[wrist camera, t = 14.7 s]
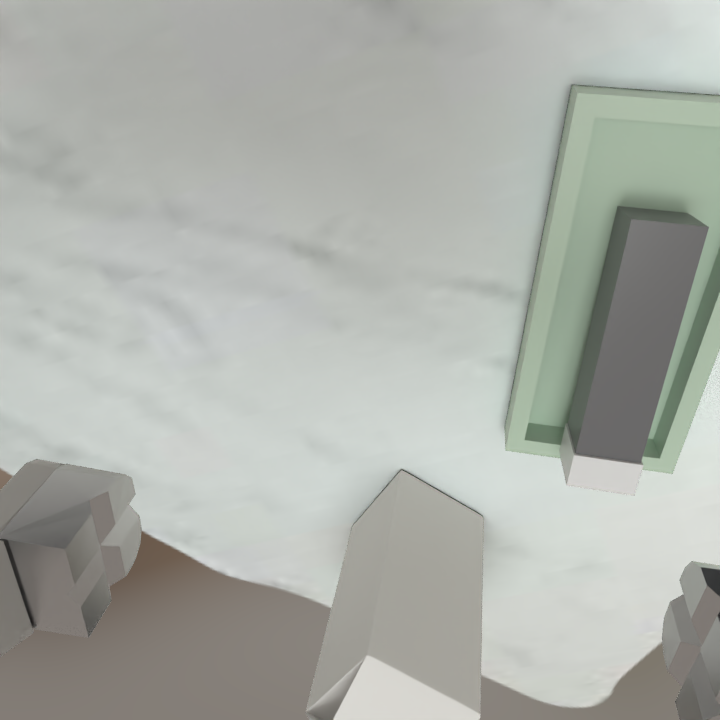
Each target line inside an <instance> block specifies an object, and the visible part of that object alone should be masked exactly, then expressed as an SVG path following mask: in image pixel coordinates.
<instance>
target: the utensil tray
mask: <svg viewBox="0 0 720 720" xmlns="http://www.w3.org/2000/svg"><path fill="white" fill-rule="evenodd" d="M617 206H624V207H634V208H644V209H654V210H663V211H673V212H683V213H688V214H690V215H691V216H693V217H695V218H696V219H698V220H699V221H701V222H702V223H704V224H705V225H707V226H708V227H709V229H708V233H707V236H706V239H705V243H704V246H703V250H702V253H701V257H700V260H699V264H698V267H697V271H696V274H695V277H694V281H693V284H692V288H691V291H690V295H689V298H688V302H687V305H686V309H685V312H684V315H683V319H682V322H681V326H680V329H679V333H678V336H677V340H676V343H675V347H674V350H673V354H672V357H671V360H670V364H669V367H668V371H667V374H666V378H665V381H664V385H663V388H662V392H661V395H660V398H659V402H658V405H657V409H656V412H655V416H654V419H653V423H652V426H651V430H650V433H649V437H648V440H647V443H646V447H645V450H644V454H643V457H642V463H643V469H642V470H648V471H655V472H663V473H670V474H673V471H674V468H675V466H676V463H677V460H678V458H679V455H680V452H681V450H682V447H683V445H684V442H685V439H686V437H687V434H688V431H689V429H690V426H691V423H692V421H693V418H694V415H695V413H696V410H697V407H698V405H699V402H700V400H701V397H702V394H703V392H704V389H705V386H706V384H707V381H708V378H709V376H710V373H711V370H712V368H713V365H714V362H715V360H716V357H717V354H718V352H719V349H720V95H710V94H696V93H682V92H668V91H654V90H640V89H626V88H612V87H598V86H584V85H572V86H571V92H570V97H569V102H568V107H567V112H566V117H565V122H564V127H563V132H562V137H561V143H560V148H559V153H558V158H557V163H556V168H555V173H554V178H553V183H552V189H551V194H550V199H549V204H548V209H547V214H546V219H545V224H544V229H543V234H542V240H541V245H540V250H539V255H538V260H537V265H536V270H535V275H534V280H533V285H532V291H531V296H530V301H529V306H528V311H527V316H526V321H525V326H524V331H523V337H522V342H521V347H520V352H519V357H518V362H517V367H516V372H515V377H514V382H513V388H512V393H511V398H510V403H509V408H508V413H507V418H506V423H505V451H512V452H519V453H526V454H533V455H541V456H548V457H555V458H561V457H560V452H559V451H560V447H561V442H562V438H563V434H564V429H565V425H566V423H568V419H569V415H570V411H571V406H572V402H573V398H574V393H575V389H576V385H577V380H578V376H579V371H580V367H581V363H582V358H583V354H584V350H585V345H586V341H587V337H588V332H589V328H590V324H591V319H592V315H593V310H594V306H595V302H596V297H597V293H598V289H599V284H600V280H601V276H602V271H603V267H604V263H605V258H606V254H607V250H608V245H609V241H610V236H611V232H612V228H613V223H614V219H615V215H616V210H617Z"/></svg>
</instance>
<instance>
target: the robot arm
mask: <svg viewBox="0 0 720 720" xmlns="http://www.w3.org/2000/svg"><path fill="white" fill-rule="evenodd" d="M134 496H135V489H134V485H133V481H132V478H131V477H129V476H127V475H125V474H121V473H115V472H110V471H104V470H98V469H93V468H87V467H82V466H76V465H71V464H61V463H56V462H50V461H45V460H40V459H35V460H33V461H30V462H28V463H26V464H25V465H24V466H23V467H22V468H21V469H20V470H19V471H18V472H17V473H16V474H15V475H14V476H13V477H12V478H11V480H10V481H9V482H8V483H7V484H6V485H5V486H4V487H3V488H2V489H1V490H0V657H1V656H2V655H4V654H5V653H6V652H8V651H9V650H10V649H12V648H13V647H14V646H16V645H17V644H18V643H20V642H21V641H23V640H24V639H25V638H27V637H28V636H30V635H31V634H32V633H33V632H34V631H33V629H36V630H43V631H49V632H55V633H61V634H68V635H74V636H81V637H87V638H89V637H90V635H91V633H92V632H93V630H94V628H95V627H96V625H97V623H98V622H99V620H100V618H101V617H102V615H103V613H104V612H105V610H106V609H107V606H108V605H109V604H110V602H111V595H110V589H109V586H111V585H112V584H114V583H116V582H117V581H119V580H121V579H122V578H124V577H126V575H127V574H128V572H129V570H130V568H131V567H132V565H133V563H134V561H135V558H136V555H137V552H138V549H139V546H140V542H141V522H140V516H139V515H138V514H137V513H136V511H135V510H134V509H133V508H132V507H131V506H130V505H129V503H130V502H131V500H132V499H133V497H134ZM680 584H681V587H682V590H683V595H681V596H680V597H678V598H676V599H674V600H672V601H671V602H670V603H669V606H668V609H667V611H666V614H665V617H664V623H663V633H662V643H663V653H664V658H665V662H666V667H667V671H668V672H669V673H670V674H671V675H672V676H673V677H674V679H675V680H676V681H677V682H678V683H679V684H680V685H681V686H682V688H681V690H680V692H679V694H678V697H677V699H676V701H675V703H676V707H677V711H678V715H679V719H680V720H720V565H714V564H708V563H701V562H694V561H692V562H690V563H689V564H688V565H687V566H686V567H685V569H684V571H683V573H682V575H681V578H680Z"/></svg>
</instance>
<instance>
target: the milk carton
mask: <svg viewBox="0 0 720 720" xmlns="http://www.w3.org/2000/svg"><path fill="white" fill-rule="evenodd" d="M482 582H483V517H482V516H481V515H479V514H478V513H476V512H474V511H473V510H471V509H469V508H467V507H466V506H464V505H462V504H460V503H459V502H457V501H455V500H454V499H452V498H450V497H448V496H447V495H445V494H443V493H441V492H440V491H438V490H436V489H434V488H433V487H431V486H429V485H428V484H426V483H424V482H422V481H421V480H419V479H417V478H415V477H414V476H412V475H410V474H408V473H407V472H405V471H400V472H399V473H398V474H397V475H396V476H395V478H394V479H393V480H392V481H391V482H390V483H389V485H388V486H387V487H386V488H385V489H384V490H383V492H382V493H381V494H380V495H379V496H378V497H377V498H376V500H375V501H374V502H373V503H372V504H371V505H370V507H369V508H368V509H367V510H366V511H365V512H364V513H363V515H362V516H361V517H360V518H359V519H358V520H357V522H356V523H355V524H354V525H353V526H352V529H351V533H350V537H349V541H348V545H347V549H346V553H345V557H344V561H343V565H342V569H341V573H340V577H339V581H338V585H337V589H336V593H335V597H334V601H333V605H332V609H331V613H330V617H329V621H328V625H327V629H326V633H325V637H324V641H323V645H322V649H321V653H320V657H319V661H318V665H317V669H316V673H315V677H314V681H313V685H312V689H311V693H310V697H309V701H308V705H307V709H306V715H307V717H308V718H309V719H310V720H479V719H480V716H481V715H480V704H481V703H480V702H481V701H480V699H481V643H482Z"/></svg>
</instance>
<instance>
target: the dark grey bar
mask: <svg viewBox="0 0 720 720" xmlns="http://www.w3.org/2000/svg"><path fill="white" fill-rule="evenodd" d="M708 229H709V227H708V226H707V225H705V224H704V223H702V222H701V221H699V220H698V219H696V218H695V217H693V216H691V215H690V214H688V213H683V212H673V211H663V210H654V209H644V208H634V207H624V206H617V210H616V215H615V219H614V223H613V228H612V232H611V236H610V241H609V245H608V250H607V254H606V258H605V263H604V267H603V271H602V276H601V280H600V284H599V289H598V293H597V297H596V302H595V306H594V310H593V315H592V319H591V324H590V328H589V332H588V337H587V341H586V345H585V350H584V354H583V358H582V363H581V367H580V371H579V376H578V380H577V385H576V389H575V393H574V398H573V402H572V406H571V411H570V415H569V419H568V423H566V425H565V429H564V434H563V438H562V442H561V447H560V451H559V452H560V457H561V462H562V466H563V471H564V475H565V480H566V485H567V486H573V487H580V488H586V489H593V490H600V491H606V492H613V493H619V494H626V495H633V496H635V493H636V489H637V486H638V483H639V479H640V476H641V472H642V469H643V463H642V457H643V454H644V450H645V447H646V443H647V440H648V437H649V433H650V430H651V426H652V423H653V419H654V416H655V412H656V409H657V405H658V402H659V398H660V395H661V392H662V388H663V385H664V381H665V378H666V374H667V371H668V367H669V364H670V360H671V357H672V354H673V350H674V347H675V343H676V340H677V336H678V333H679V329H680V326H681V322H682V319H683V315H684V312H685V309H686V305H687V302H688V298H689V295H690V291H691V288H692V284H693V281H694V277H695V274H696V271H697V267H698V264H699V260H700V257H701V253H702V250H703V246H704V243H705V239H706V236H707V233H708Z"/></svg>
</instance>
